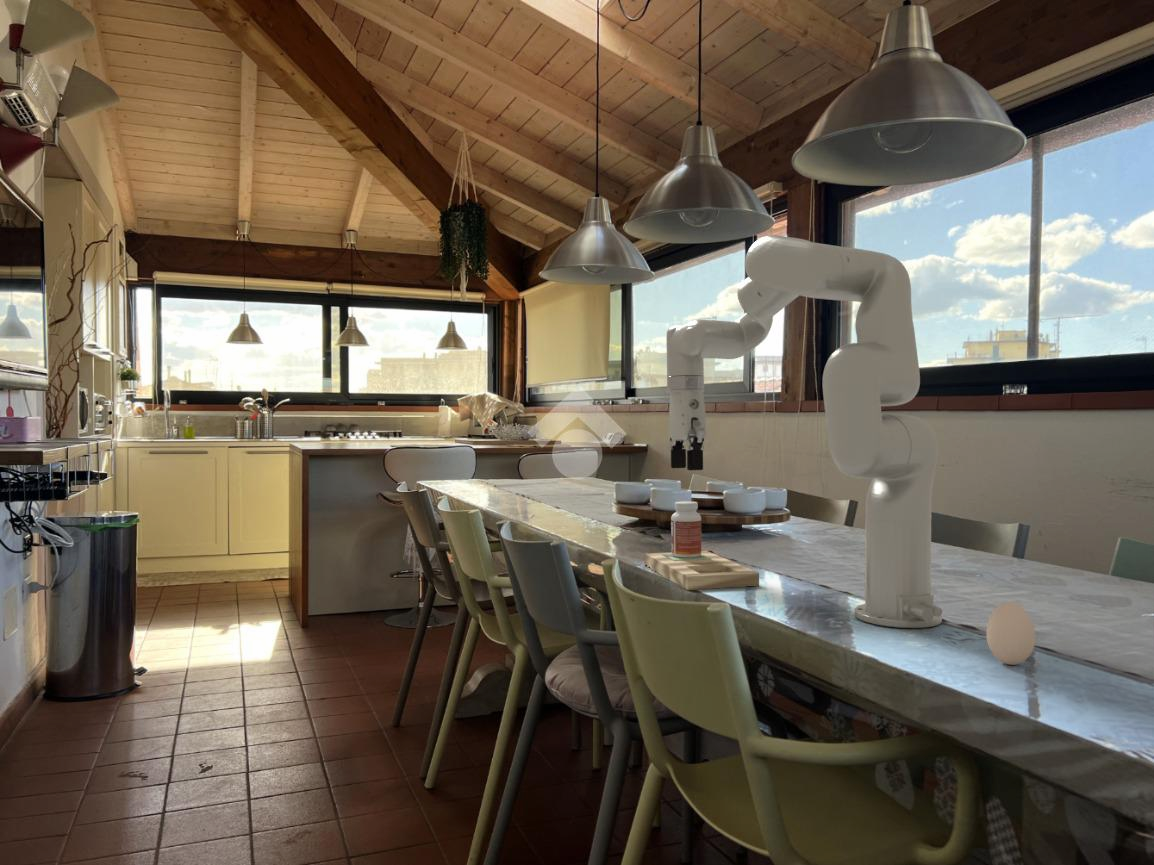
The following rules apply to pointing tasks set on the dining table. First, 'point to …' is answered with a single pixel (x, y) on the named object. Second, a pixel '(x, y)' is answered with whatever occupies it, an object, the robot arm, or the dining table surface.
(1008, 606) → the egg
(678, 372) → the robot arm
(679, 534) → the pill bottle
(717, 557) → the pocket board
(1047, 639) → the dining table surface
